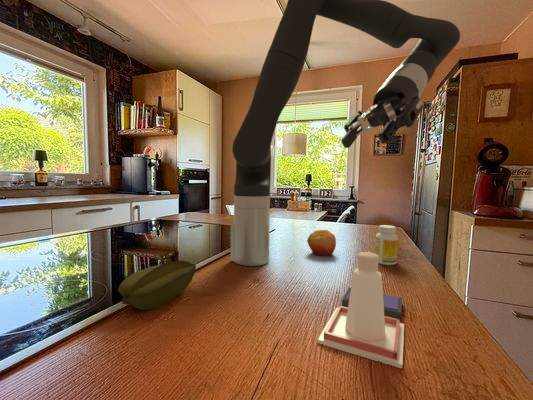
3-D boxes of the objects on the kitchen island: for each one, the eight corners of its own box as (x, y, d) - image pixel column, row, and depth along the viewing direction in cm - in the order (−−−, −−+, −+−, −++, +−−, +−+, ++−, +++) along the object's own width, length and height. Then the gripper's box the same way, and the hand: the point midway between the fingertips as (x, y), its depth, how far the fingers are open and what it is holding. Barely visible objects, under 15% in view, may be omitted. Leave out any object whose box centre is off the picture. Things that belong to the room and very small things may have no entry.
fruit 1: (131, 290, 52) (130, 256, 51) (196, 284, 55) (195, 253, 54) (114, 321, 41) (113, 278, 40) (197, 311, 44) (196, 272, 43)
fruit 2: (337, 245, 82) (337, 225, 78) (335, 265, 76) (334, 245, 72) (311, 243, 85) (309, 223, 81) (306, 262, 79) (304, 242, 75)
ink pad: (341, 306, 46) (342, 298, 46) (348, 293, 51) (349, 286, 51) (400, 320, 42) (401, 311, 42) (401, 304, 47) (402, 296, 47)
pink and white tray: (317, 343, 36) (318, 333, 36) (336, 310, 45) (336, 303, 44) (402, 368, 31) (402, 358, 31) (404, 327, 40) (404, 318, 40)
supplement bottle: (370, 261, 72) (372, 225, 71) (380, 258, 75) (382, 223, 74) (390, 266, 67) (392, 228, 67) (400, 262, 71) (402, 226, 70)
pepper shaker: (342, 319, 41) (344, 248, 40) (379, 322, 40) (383, 249, 39) (348, 340, 35) (351, 258, 35) (391, 344, 35) (395, 261, 34)
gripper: (364, 85, 61) (325, 132, 56) (430, 63, 49) (388, 119, 43) (377, 112, 64) (342, 159, 59) (443, 98, 52) (405, 155, 47)
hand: (362, 142), depth 51 cm, fingers open, 8 cm apart
